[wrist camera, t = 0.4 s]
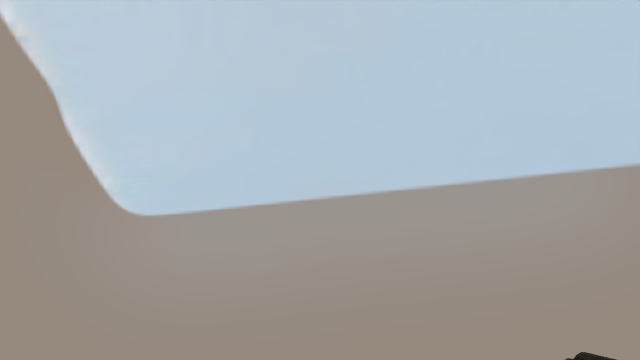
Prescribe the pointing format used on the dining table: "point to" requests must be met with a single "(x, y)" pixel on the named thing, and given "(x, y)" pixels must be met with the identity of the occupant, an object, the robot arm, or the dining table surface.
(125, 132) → the dining table surface
